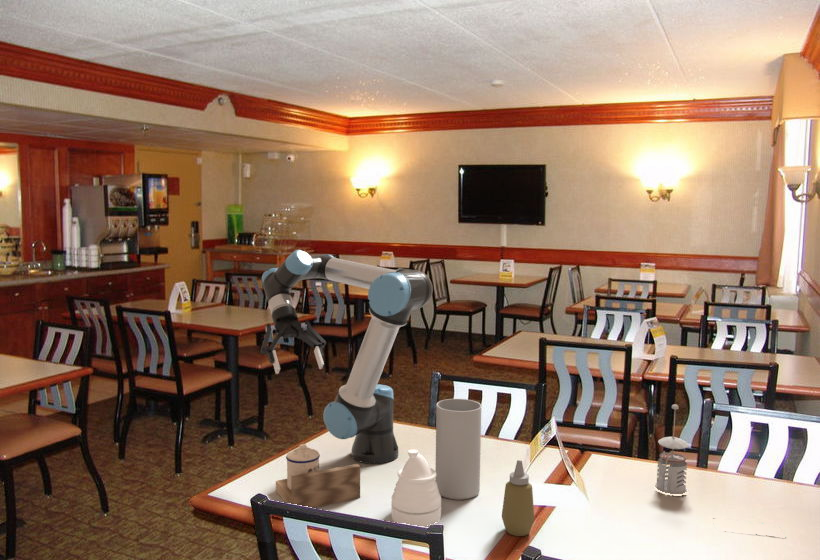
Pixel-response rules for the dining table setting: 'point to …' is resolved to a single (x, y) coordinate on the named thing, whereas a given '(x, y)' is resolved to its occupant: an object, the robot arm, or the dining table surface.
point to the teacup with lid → (301, 462)
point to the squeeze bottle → (518, 503)
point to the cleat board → (322, 487)
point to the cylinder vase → (458, 448)
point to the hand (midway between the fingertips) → (300, 369)
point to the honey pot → (416, 493)
